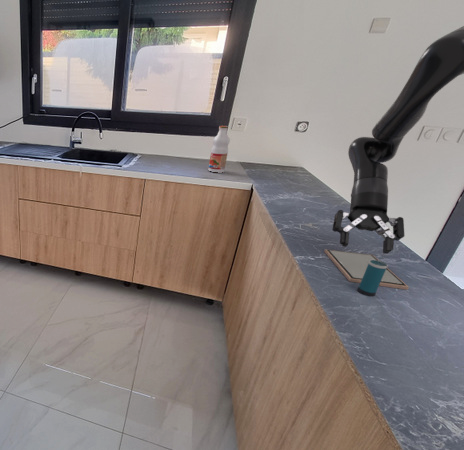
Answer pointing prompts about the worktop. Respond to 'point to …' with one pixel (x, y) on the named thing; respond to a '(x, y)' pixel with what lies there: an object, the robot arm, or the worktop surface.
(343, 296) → the worktop surface
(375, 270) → the tumbler
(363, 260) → the tablet
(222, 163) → the fruit juice
